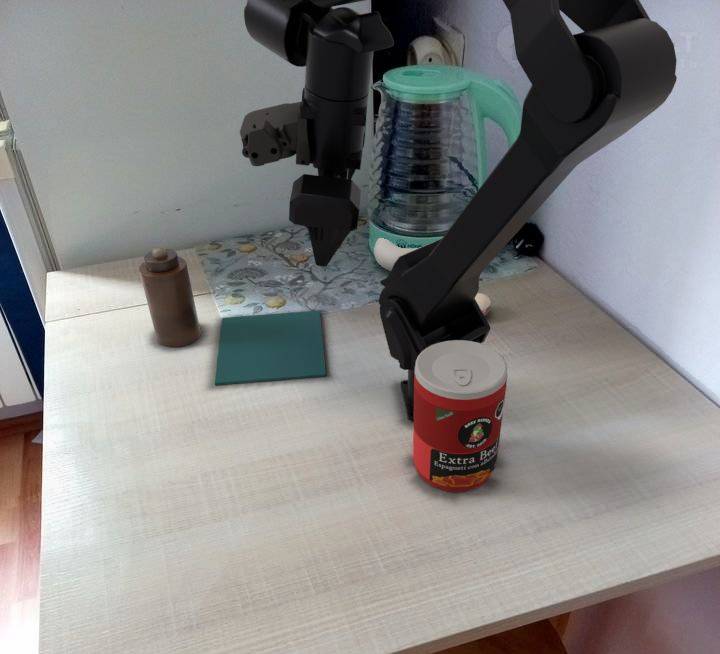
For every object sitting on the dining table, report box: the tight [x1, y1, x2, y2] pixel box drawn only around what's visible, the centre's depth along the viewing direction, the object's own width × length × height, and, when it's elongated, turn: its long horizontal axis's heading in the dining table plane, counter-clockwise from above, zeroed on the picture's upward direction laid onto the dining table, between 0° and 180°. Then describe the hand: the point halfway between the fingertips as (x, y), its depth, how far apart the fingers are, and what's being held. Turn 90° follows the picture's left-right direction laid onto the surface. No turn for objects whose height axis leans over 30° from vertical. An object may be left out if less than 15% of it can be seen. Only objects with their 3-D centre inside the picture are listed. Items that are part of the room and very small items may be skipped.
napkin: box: [214, 310, 327, 386], centre depth 82 cm, size 14×12×1 cm
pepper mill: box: [138, 245, 202, 348], centre depth 81 cm, size 5×5×11 cm
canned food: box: [412, 340, 508, 493], centre depth 62 cm, size 8×8×11 cm
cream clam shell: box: [475, 292, 492, 317], centre depth 85 cm, size 4×5×2 cm
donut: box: [373, 237, 420, 272], centre depth 96 cm, size 10×4×10 cm
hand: (324, 239), depth 75 cm, fingers open, 9 cm apart
